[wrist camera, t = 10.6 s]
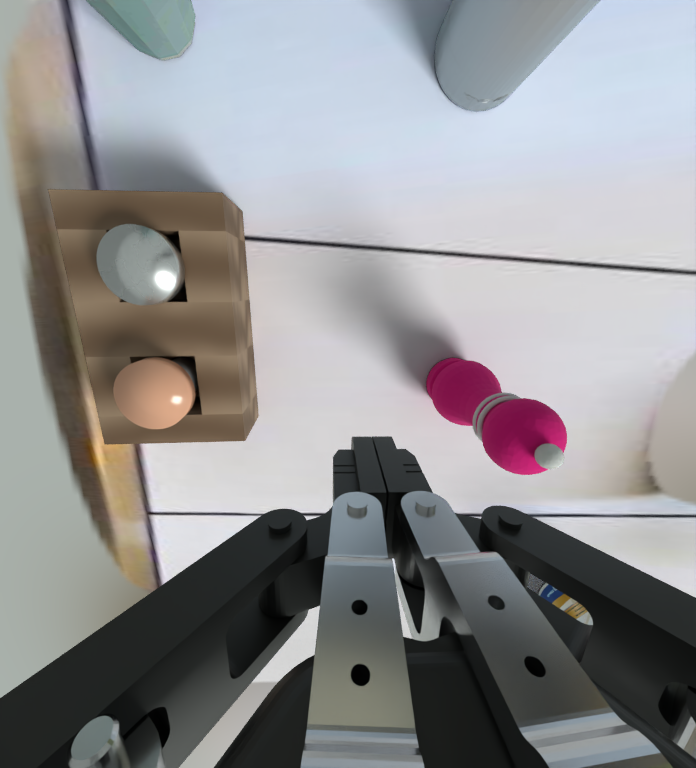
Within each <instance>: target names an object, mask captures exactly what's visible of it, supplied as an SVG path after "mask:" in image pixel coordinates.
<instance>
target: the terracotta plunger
mask: <svg viewBox="0 0 696 768" xmlns="http://www.w3.org/2000/svg"><path fill="white" fill-rule="evenodd" d="M198 391H199V386H198V378H197V371H196V363H195V360H194V359H192V358H190V357H186V356H178V357H175V358H172V359H170V360H168V359H165V358H160V357H150V358H145V359H142V360H140V361H137V362H134V363H132V364H130V365H128V366H126V367H125V368H123V369H122V370H121V371H120V373H119V374H118V375H117V377H116V379H115V382H114V387H113V393H114V399H115V402H116V404H117V406H118V408H119V410H120V411H121V412H122V414H123V415H124V416H125V417H126V418H127V419H129V420H130V421H131V422H133V423H135V424H136V425H138V426H141V427H144V428H148V429H164V428H168V427H171V426H173V425H175V424H176V423H177V422H179V421H180V420H181V419H182V418H183V417H184V416H185V415H186V414H188V413H189V411H190V410H191V408H192V407H193V404H194V401H195V394H196V393H197V392H198Z"/></svg>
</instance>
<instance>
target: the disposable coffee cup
mask: <svg viewBox="0 0 696 768" xmlns="http://www.w3.org/2000/svg"><path fill="white" fill-rule="evenodd" d="M86 1H87V2H88V3H89V4H90V5H91V6H92V7H93V8H94V9H95V10H97V11H98V12H99V13H100V14H101V15H102V16H103V17H104V18H105V19H106V20H107V21H108V22H109V23H110V24H111V25H112V26H113V27H114V28H115V29H116V30H118V31H119V32H120V33H121V34H122V35H123V36H124V37H125V38H126V39H127V40H128V41H129V42H130V43H131V44H132V45H133V46H134V47H135V48H136V49H137V50H139V51H141V52H143V53H145V54H148V55H150V56H153V57H155V58H158V59H160V60H168V59H173V58H177V57H180V56H181V55H182V54H183V53H184V51H185V50H186V49H187V48H188V47H189V46H190V44H191V43H192V38H193V32H194V26H195V13H194V9H193V6H192V2H191V0H86Z"/></svg>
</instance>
